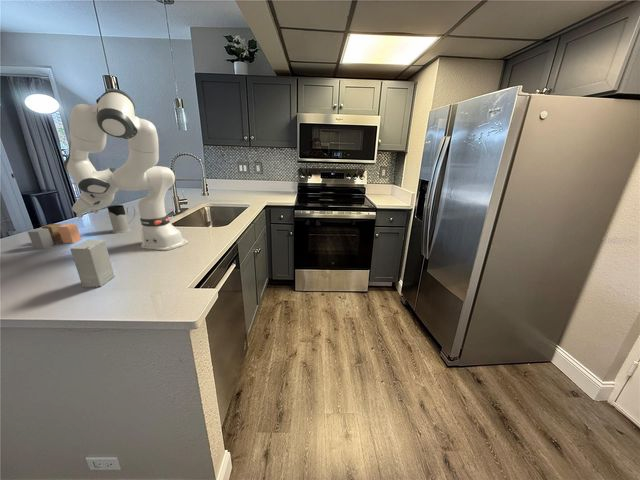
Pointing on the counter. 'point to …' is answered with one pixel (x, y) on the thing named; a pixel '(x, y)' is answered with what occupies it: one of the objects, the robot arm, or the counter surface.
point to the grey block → (41, 238)
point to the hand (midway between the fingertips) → (87, 214)
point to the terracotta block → (69, 233)
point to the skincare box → (92, 263)
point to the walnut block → (54, 232)
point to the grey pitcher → (119, 218)
